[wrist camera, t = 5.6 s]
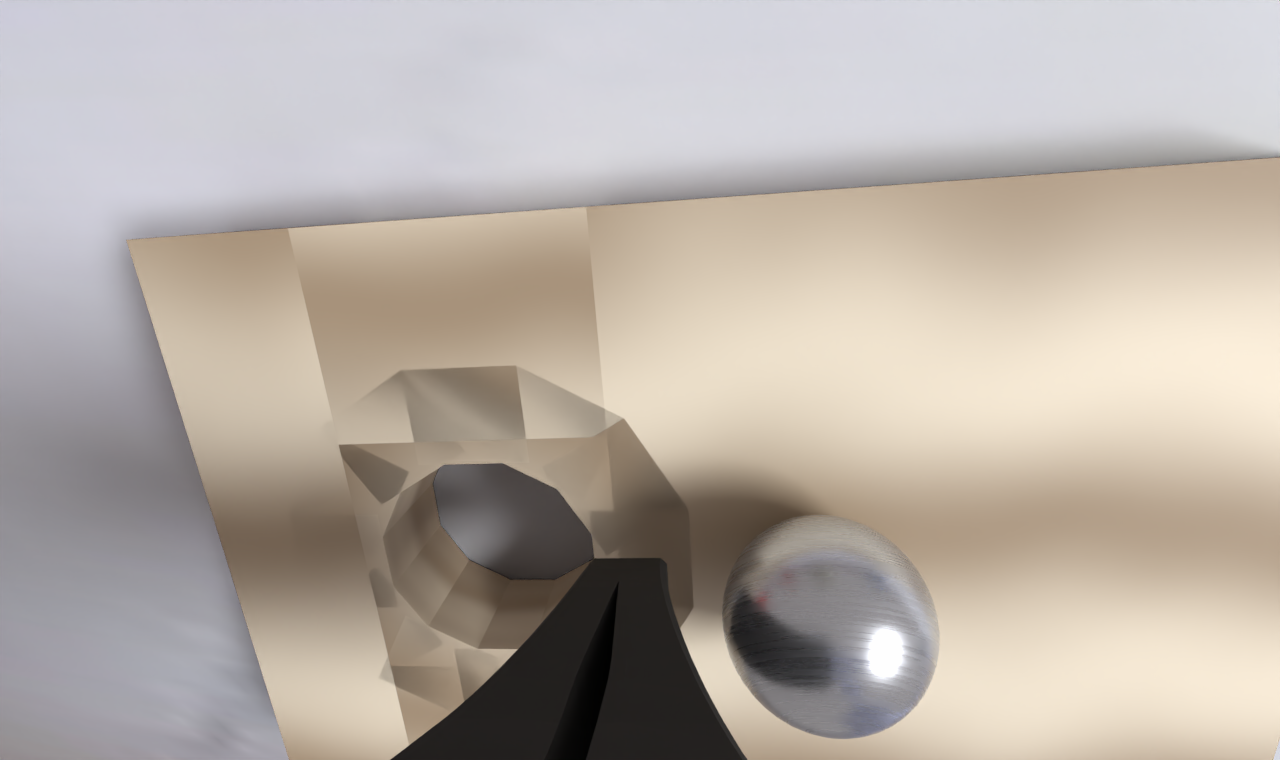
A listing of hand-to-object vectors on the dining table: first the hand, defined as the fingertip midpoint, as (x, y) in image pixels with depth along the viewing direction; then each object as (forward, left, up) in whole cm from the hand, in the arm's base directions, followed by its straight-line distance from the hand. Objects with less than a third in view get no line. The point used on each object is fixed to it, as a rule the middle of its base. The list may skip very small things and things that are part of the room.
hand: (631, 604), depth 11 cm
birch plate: (0, -2, -4) cm, 4 cm away
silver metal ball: (0, -3, 0) cm, 3 cm away
